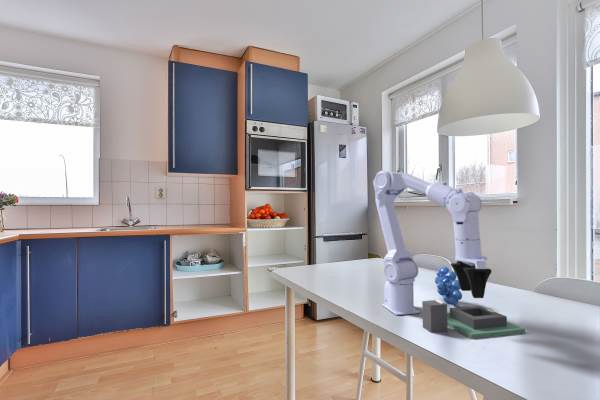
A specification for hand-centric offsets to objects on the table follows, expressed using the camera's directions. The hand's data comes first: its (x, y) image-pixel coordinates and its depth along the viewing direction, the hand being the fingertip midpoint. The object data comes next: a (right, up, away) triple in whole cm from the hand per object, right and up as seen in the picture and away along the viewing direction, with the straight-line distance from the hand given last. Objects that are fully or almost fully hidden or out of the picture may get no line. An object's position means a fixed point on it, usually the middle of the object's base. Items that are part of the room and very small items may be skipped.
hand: (471, 294), depth 76 cm
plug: (-7, -11, +4) cm, 14 cm away
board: (+5, -11, +7) cm, 14 cm away
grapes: (+6, -11, +25) cm, 28 cm away
